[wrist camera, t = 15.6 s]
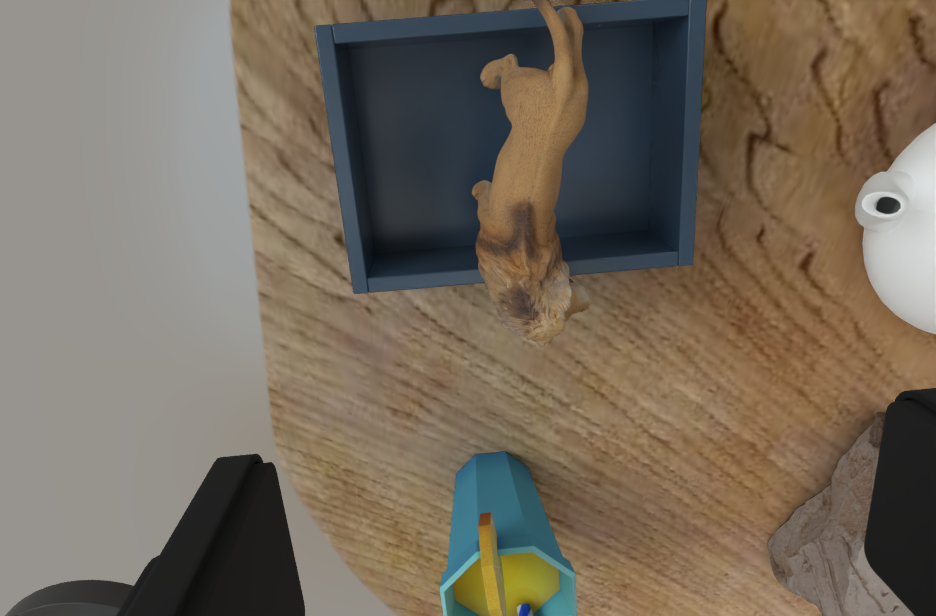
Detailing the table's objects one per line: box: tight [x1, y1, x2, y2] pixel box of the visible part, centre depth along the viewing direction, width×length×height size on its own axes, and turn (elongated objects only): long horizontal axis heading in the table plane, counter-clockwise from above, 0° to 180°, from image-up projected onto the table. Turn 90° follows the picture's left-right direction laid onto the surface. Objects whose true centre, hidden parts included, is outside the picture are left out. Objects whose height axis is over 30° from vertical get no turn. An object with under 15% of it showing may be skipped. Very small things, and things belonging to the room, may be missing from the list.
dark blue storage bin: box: [314, 0, 707, 294], centre depth 32 cm, size 18×13×6 cm
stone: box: [768, 413, 914, 616], centre depth 42 cm, size 15×9×10 cm
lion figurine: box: [472, 0, 591, 346], centre depth 27 cm, size 15×5×9 cm, turn 4°
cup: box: [440, 452, 577, 616], centre depth 36 cm, size 14×8×15 cm, turn 27°
